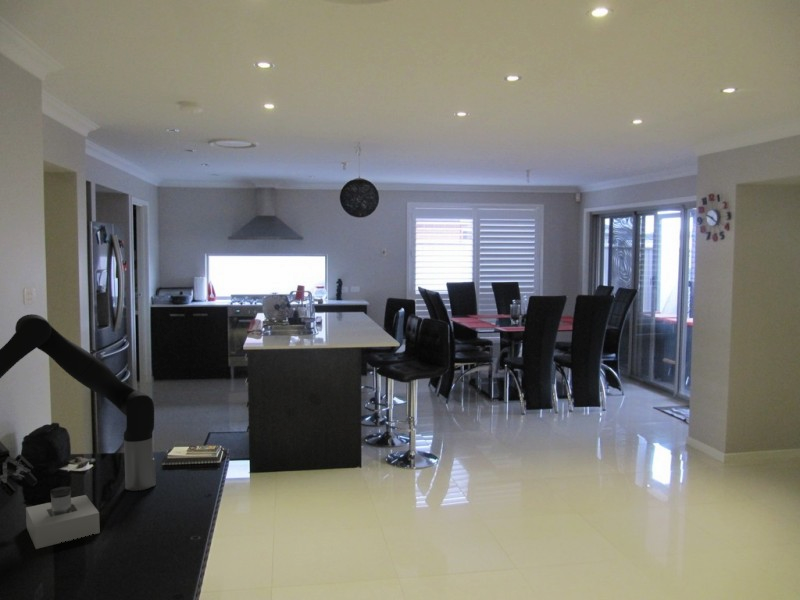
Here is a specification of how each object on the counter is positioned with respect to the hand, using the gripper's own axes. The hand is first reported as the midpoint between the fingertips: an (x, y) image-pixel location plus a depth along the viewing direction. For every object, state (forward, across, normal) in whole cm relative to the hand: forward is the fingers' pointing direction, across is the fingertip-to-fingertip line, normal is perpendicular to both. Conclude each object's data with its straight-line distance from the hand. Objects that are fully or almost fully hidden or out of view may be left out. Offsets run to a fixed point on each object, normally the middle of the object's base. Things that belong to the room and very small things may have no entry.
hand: (24, 489), depth 178 cm
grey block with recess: (+17, 0, 0) cm, 17 cm away
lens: (+15, 0, -1) cm, 15 cm away
